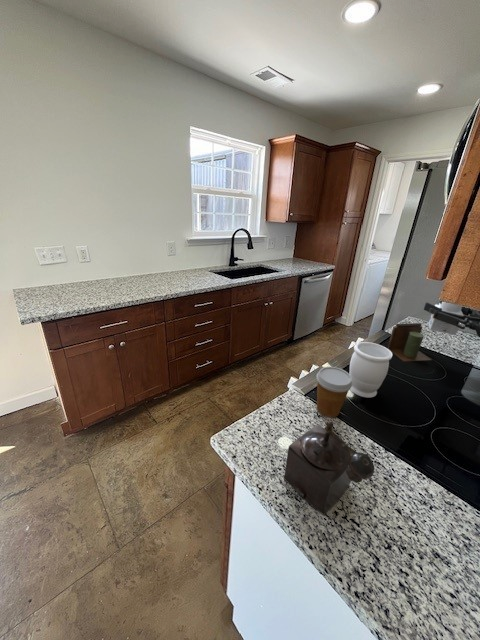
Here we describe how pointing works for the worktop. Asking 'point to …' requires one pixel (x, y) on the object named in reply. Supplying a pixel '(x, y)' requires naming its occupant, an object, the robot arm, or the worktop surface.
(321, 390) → the disposable coffee cup
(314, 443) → the brown coffee grinder
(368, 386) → the jar
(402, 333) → the spice rack
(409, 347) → the spice tin
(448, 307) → the container
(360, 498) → the worktop surface
